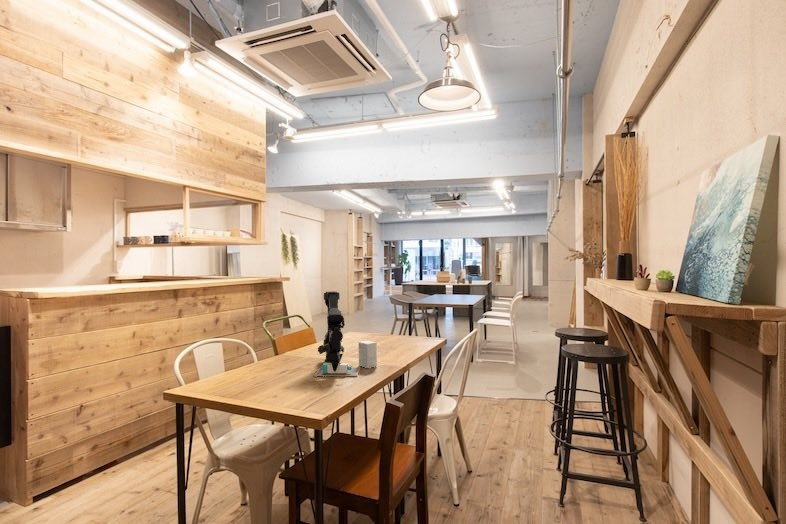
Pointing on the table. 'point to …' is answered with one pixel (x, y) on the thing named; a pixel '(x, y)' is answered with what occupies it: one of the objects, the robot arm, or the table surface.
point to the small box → (367, 354)
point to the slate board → (350, 373)
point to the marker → (340, 369)
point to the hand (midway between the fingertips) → (335, 370)
